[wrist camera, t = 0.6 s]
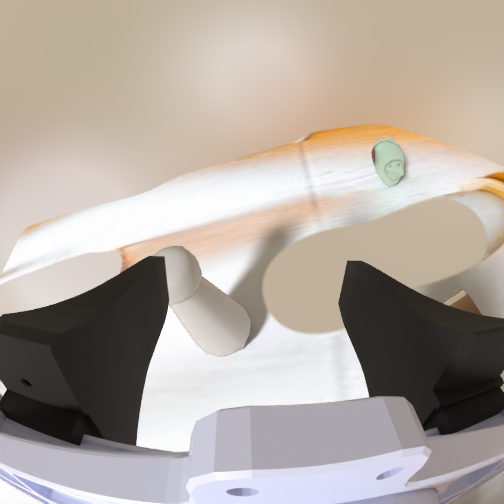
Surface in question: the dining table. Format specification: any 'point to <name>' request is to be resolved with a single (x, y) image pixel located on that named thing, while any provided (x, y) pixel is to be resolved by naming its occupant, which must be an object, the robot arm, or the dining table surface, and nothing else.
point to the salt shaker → (203, 305)
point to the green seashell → (388, 161)
